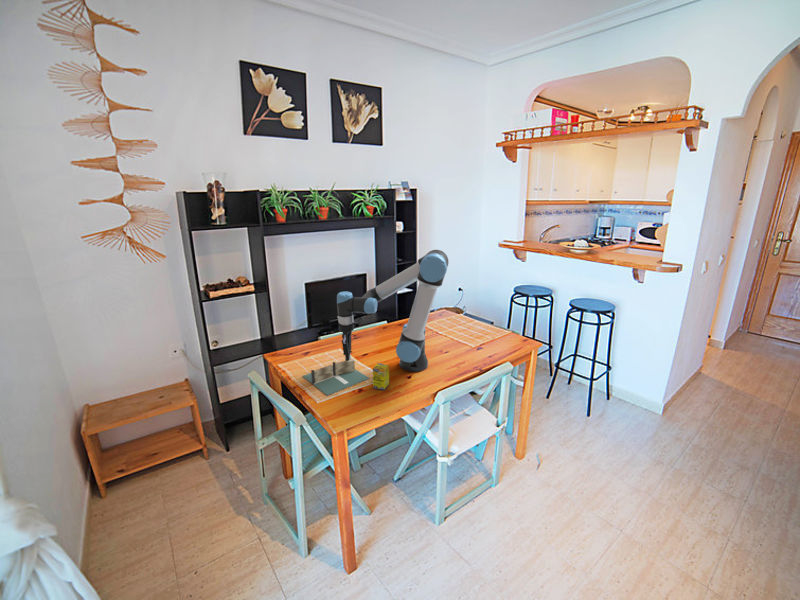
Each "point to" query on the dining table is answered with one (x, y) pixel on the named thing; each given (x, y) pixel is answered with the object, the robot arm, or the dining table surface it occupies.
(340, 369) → the hinged gate
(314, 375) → the fixed rail
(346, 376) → the board
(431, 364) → the dining table surface
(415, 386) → the dining table surface
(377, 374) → the supplement box
